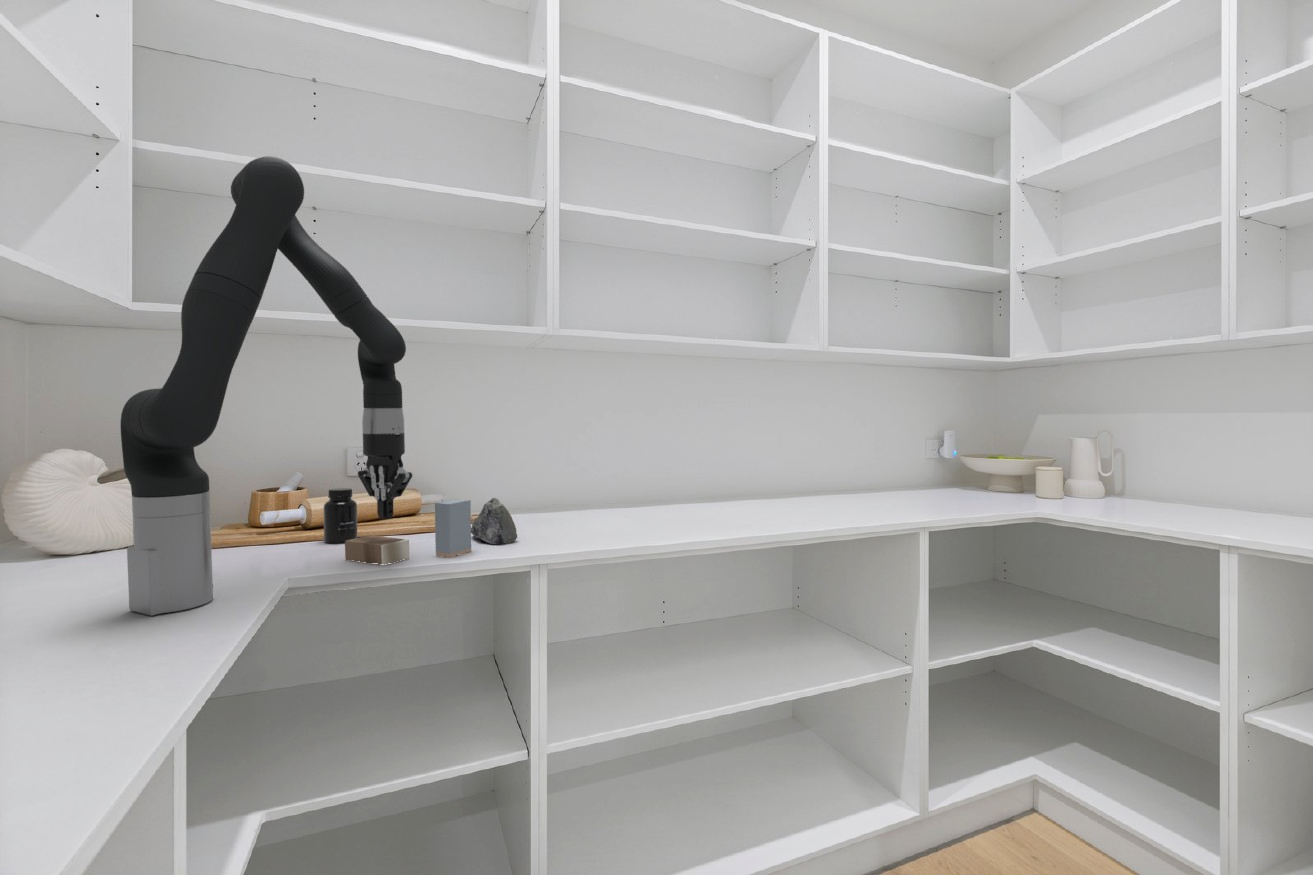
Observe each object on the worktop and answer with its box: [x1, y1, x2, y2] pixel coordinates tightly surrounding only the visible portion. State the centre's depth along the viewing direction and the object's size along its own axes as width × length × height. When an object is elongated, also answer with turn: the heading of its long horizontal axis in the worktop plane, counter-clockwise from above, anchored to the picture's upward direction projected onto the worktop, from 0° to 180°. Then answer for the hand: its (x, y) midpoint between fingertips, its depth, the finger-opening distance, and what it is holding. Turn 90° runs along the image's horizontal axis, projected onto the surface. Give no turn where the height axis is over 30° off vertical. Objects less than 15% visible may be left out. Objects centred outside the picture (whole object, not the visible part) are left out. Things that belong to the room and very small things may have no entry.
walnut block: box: [344, 534, 410, 565], centre depth 120 cm, size 6×4×11 cm
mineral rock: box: [471, 497, 518, 545], centre depth 138 cm, size 13×11×10 cm
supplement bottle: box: [323, 487, 358, 545], centre depth 137 cm, size 7×7×12 cm
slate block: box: [434, 498, 472, 558], centre depth 124 cm, size 6×4×11 cm, turn 155°
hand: (385, 518), depth 118 cm, fingers closed
